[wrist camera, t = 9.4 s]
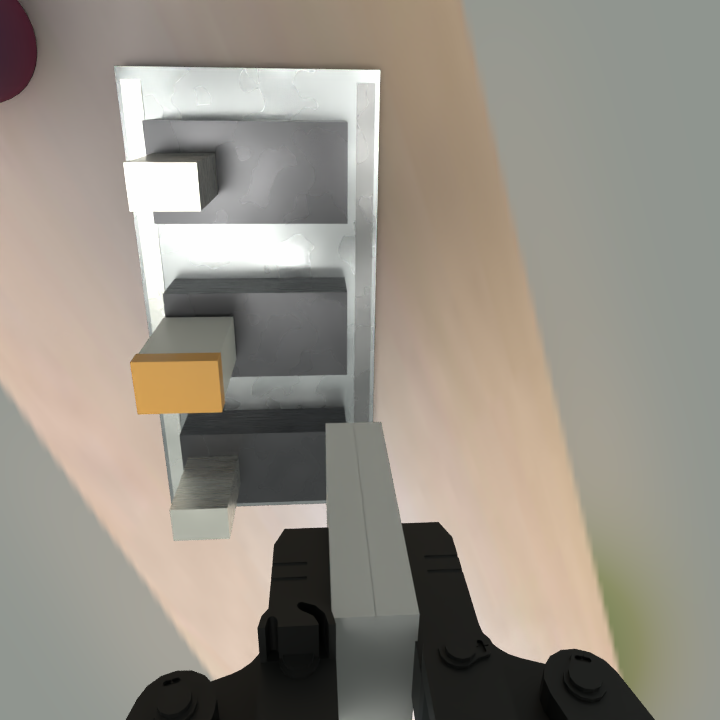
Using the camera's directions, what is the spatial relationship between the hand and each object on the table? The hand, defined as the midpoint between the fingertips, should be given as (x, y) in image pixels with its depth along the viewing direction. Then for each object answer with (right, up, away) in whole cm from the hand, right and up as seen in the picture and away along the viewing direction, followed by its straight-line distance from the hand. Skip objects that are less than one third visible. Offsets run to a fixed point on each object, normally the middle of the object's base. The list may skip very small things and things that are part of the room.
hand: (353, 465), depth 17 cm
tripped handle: (-7, +4, +10) cm, 13 cm away
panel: (-5, +6, +14) cm, 16 cm away
